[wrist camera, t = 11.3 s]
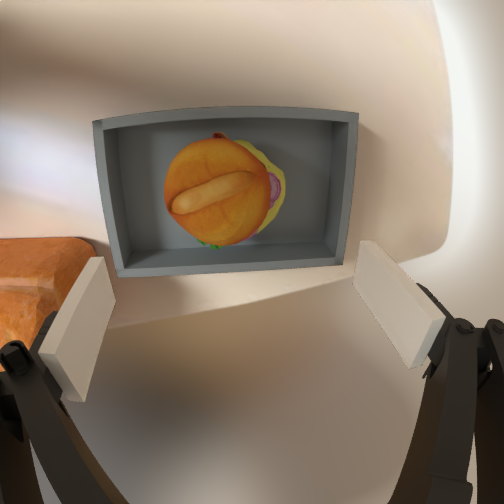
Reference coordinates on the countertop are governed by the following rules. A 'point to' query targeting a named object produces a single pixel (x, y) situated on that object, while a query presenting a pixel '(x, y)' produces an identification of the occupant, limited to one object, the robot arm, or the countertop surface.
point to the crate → (234, 127)
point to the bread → (36, 282)
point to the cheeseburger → (223, 190)
